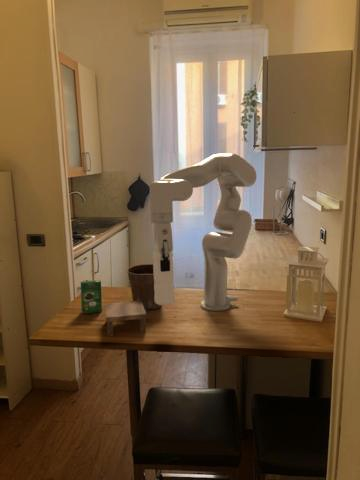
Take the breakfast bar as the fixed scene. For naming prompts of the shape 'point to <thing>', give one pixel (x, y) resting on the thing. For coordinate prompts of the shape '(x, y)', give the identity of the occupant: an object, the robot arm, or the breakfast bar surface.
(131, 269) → the plant pot
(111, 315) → the small square stand
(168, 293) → the water bottle
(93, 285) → the coffee box
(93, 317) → the breakfast bar surface
